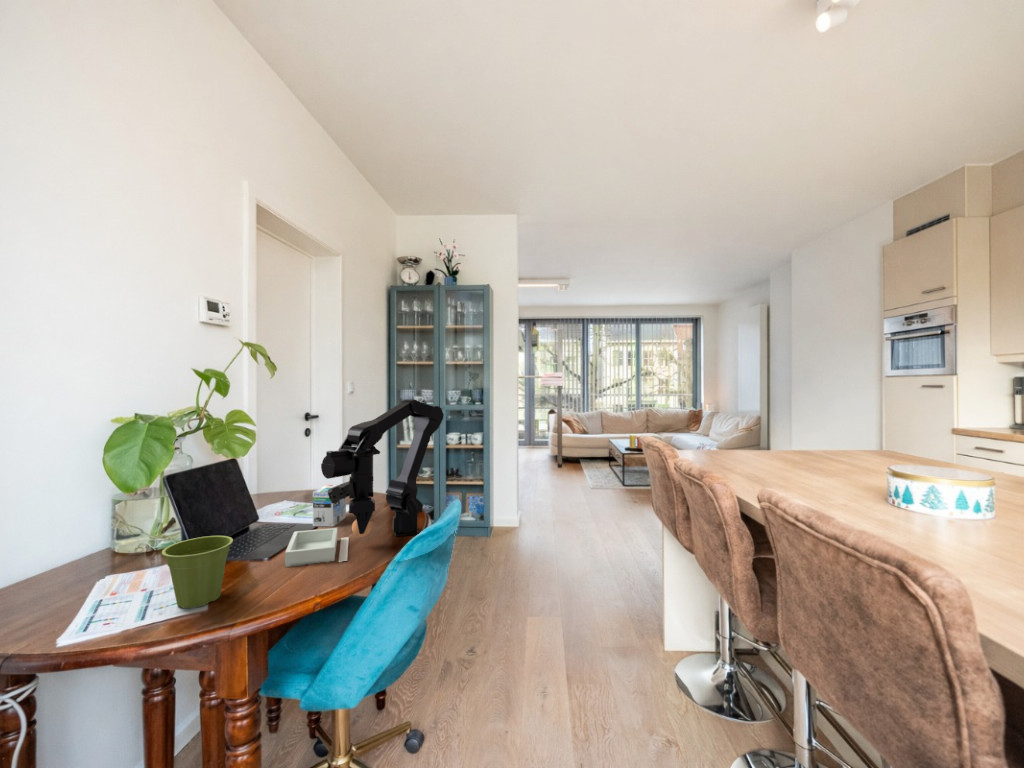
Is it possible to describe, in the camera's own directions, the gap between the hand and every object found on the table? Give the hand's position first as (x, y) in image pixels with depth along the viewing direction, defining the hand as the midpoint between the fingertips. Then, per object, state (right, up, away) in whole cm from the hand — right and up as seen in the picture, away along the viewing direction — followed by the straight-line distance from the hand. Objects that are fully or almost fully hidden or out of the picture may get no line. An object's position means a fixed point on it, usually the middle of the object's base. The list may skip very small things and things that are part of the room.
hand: (361, 530), depth 121 cm
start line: (-4, -5, -1) cm, 6 cm away
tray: (-11, -5, -4) cm, 13 cm away
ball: (0, +1, 0) cm, 1 cm away
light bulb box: (-18, -5, +23) cm, 29 cm away
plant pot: (-23, -5, -30) cm, 38 cm away
